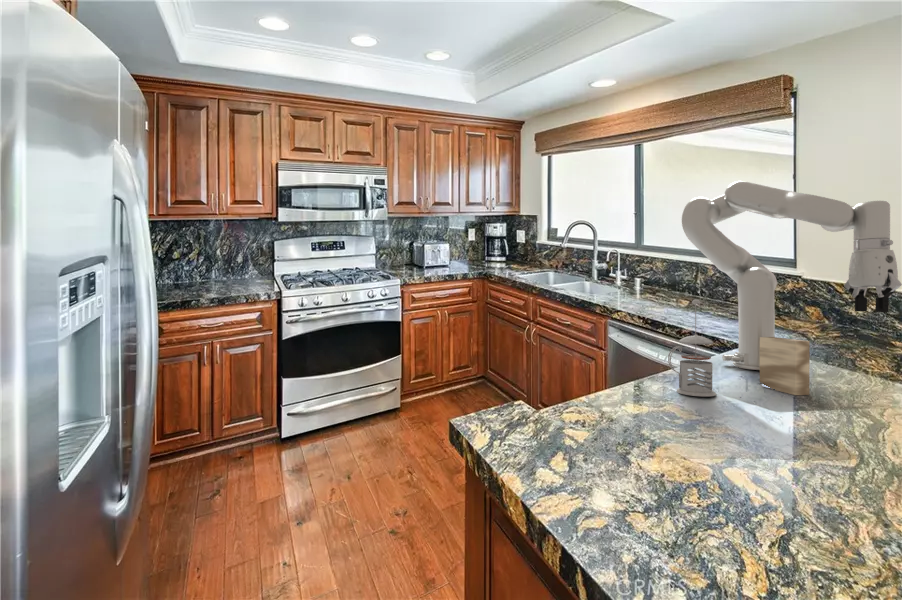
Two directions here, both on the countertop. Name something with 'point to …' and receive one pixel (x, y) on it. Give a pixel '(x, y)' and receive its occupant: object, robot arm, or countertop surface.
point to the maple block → (785, 364)
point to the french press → (688, 385)
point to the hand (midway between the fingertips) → (871, 311)
